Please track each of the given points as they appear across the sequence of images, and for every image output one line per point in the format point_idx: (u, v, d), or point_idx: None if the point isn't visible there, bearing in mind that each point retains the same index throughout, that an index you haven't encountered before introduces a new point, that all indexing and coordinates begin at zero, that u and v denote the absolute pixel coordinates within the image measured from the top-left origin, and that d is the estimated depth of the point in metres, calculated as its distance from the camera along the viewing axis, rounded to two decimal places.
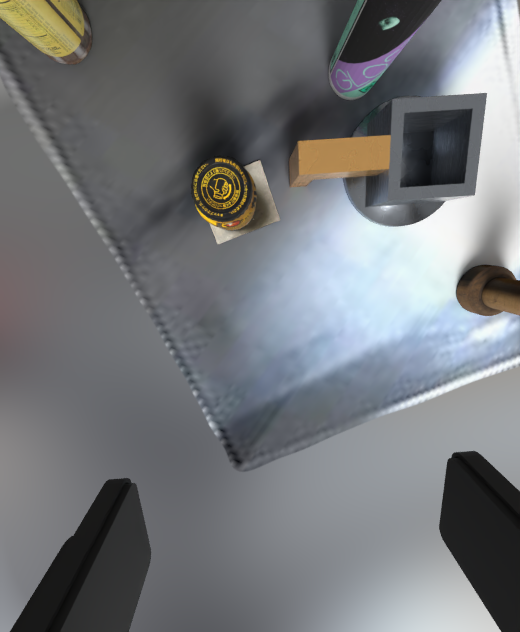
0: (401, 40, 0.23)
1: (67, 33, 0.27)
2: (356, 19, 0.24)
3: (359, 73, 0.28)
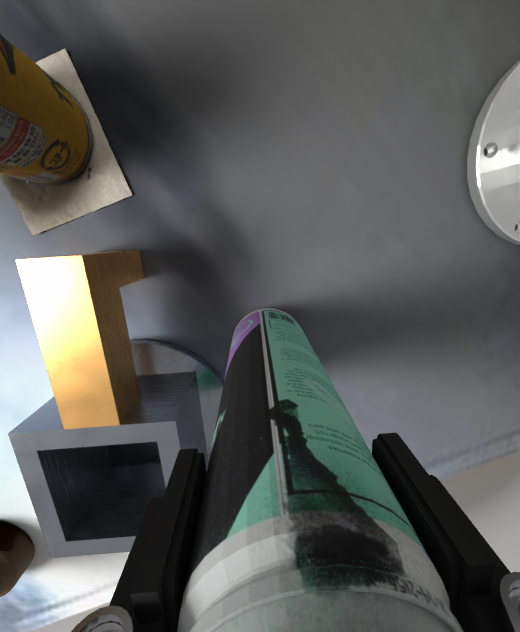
0: None
1: None
2: (265, 357, 0.13)
3: (228, 360, 0.17)
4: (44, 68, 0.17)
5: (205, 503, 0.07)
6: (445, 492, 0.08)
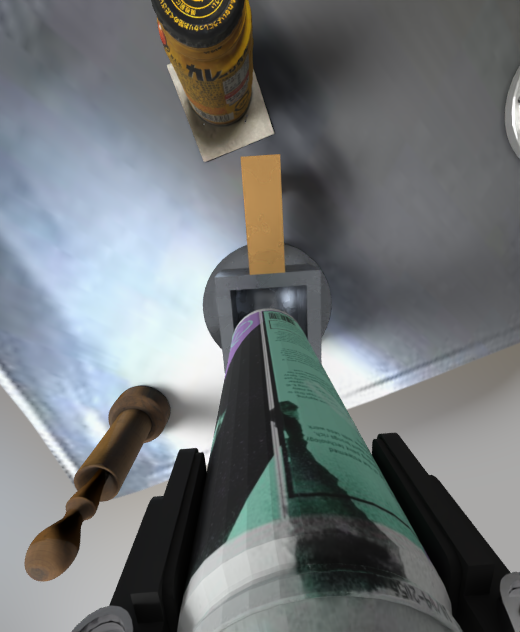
0: None
1: None
2: (265, 358, 0.12)
3: (228, 360, 0.17)
4: None
5: (205, 506, 0.07)
6: (445, 492, 0.08)
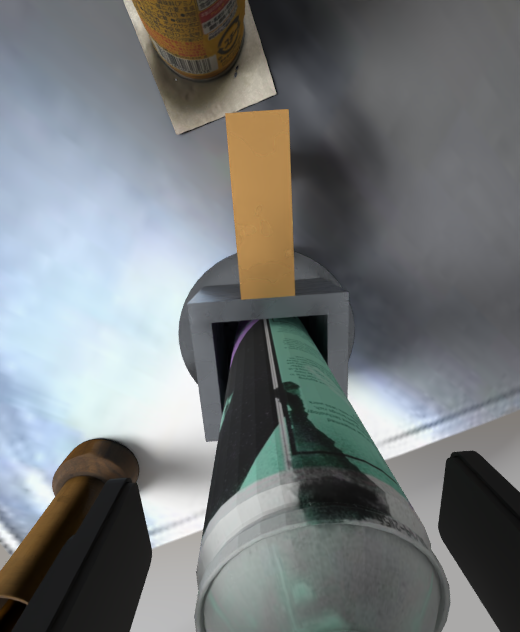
0: None
1: None
2: (269, 346, 0.13)
3: (233, 351, 0.17)
4: None
5: (217, 469, 0.08)
6: None
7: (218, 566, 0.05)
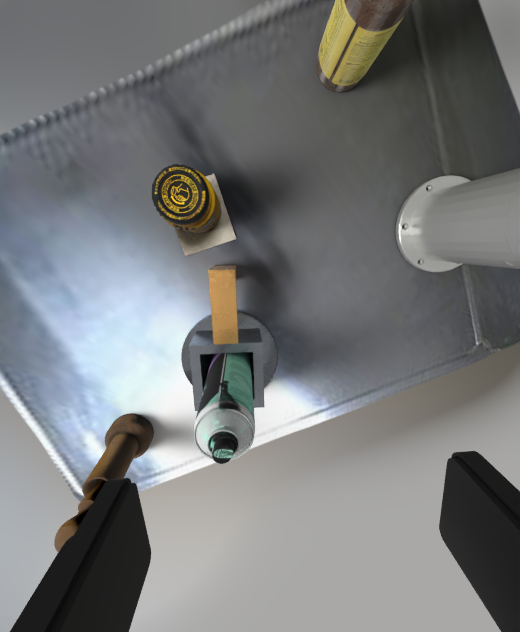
0: None
1: (330, 66, 0.31)
2: (223, 366, 0.33)
3: (209, 367, 0.37)
4: None
5: (200, 405, 0.27)
6: None
7: (199, 419, 0.25)
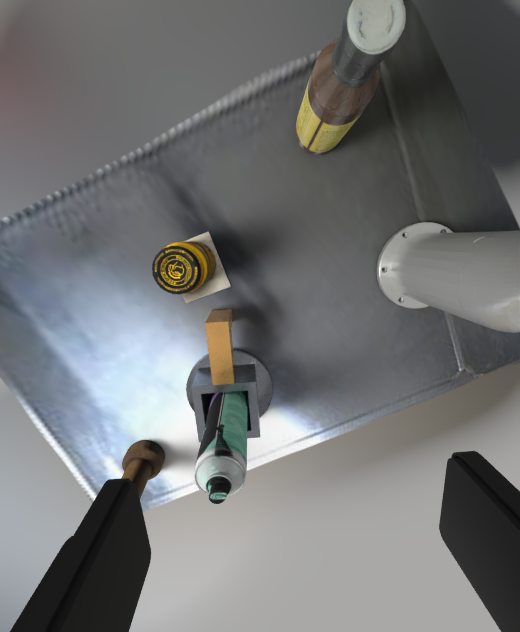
0: None
1: (305, 140, 0.35)
2: (221, 407, 0.37)
3: (210, 403, 0.41)
4: (199, 238, 0.41)
5: (200, 449, 0.32)
6: None
7: (198, 465, 0.29)
